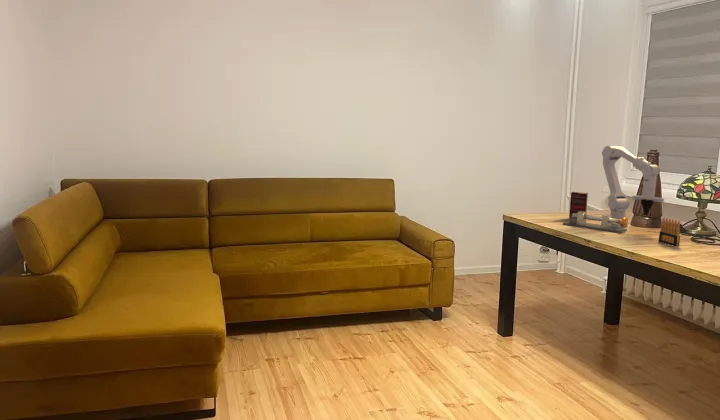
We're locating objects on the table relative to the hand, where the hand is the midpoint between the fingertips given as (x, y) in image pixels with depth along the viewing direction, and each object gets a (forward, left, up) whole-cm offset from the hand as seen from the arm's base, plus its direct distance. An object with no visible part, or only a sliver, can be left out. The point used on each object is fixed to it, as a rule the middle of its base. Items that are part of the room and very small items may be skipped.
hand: (646, 214), depth 283 cm
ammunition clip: (+20, +17, -10) cm, 28 cm away
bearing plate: (+7, -23, -9) cm, 26 cm away
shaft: (+7, -21, -7) cm, 23 cm away
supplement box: (-9, -39, -10) cm, 41 cm away
